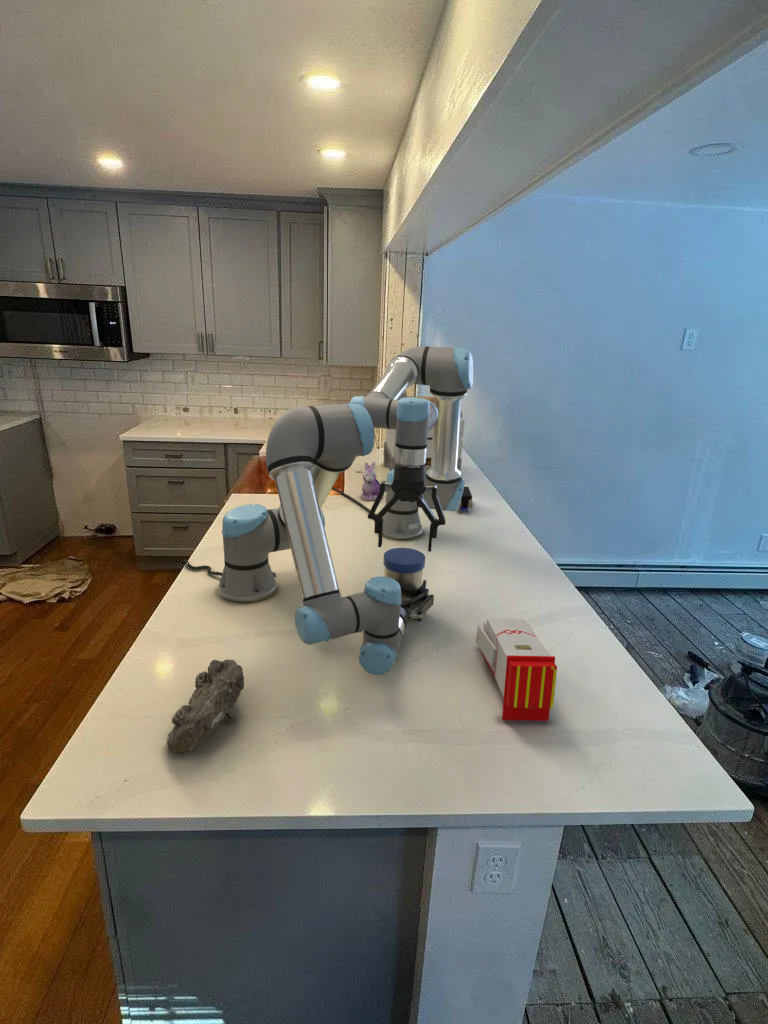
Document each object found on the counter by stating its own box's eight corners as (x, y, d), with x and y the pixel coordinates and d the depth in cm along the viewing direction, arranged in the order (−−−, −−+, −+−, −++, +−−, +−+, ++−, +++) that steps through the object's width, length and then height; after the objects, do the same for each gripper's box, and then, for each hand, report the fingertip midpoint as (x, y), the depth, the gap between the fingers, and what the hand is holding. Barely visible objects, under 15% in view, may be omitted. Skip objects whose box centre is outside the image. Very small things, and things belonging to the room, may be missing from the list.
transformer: (382, 463, 289) (386, 382, 275) (445, 464, 293) (451, 384, 279) (390, 482, 257) (394, 392, 243) (460, 483, 261) (468, 394, 247)
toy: (523, 604, 135) (566, 662, 106) (518, 656, 138) (559, 727, 109) (472, 603, 135) (501, 661, 105) (468, 655, 138) (496, 726, 108)
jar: (421, 621, 145) (425, 566, 139) (383, 620, 144) (386, 565, 139) (417, 602, 154) (421, 550, 149) (381, 601, 153) (384, 549, 148)
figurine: (366, 502, 230) (367, 466, 225) (355, 494, 239) (356, 460, 234) (386, 499, 235) (388, 464, 229) (375, 492, 243) (377, 458, 238)
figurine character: (472, 517, 222) (467, 501, 236) (475, 500, 219) (469, 484, 233) (455, 517, 222) (451, 500, 236) (457, 499, 219) (452, 484, 232)
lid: (427, 573, 140) (427, 565, 139) (384, 573, 139) (384, 564, 138) (422, 556, 150) (422, 547, 149) (382, 555, 149) (382, 547, 148)
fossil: (192, 660, 117) (244, 628, 112) (224, 691, 120) (276, 661, 115) (142, 746, 98) (202, 712, 93) (182, 779, 101) (242, 748, 96)
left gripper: (341, 631, 133) (363, 589, 154) (436, 646, 129) (446, 600, 150) (342, 603, 131) (364, 564, 151) (438, 617, 127) (448, 574, 148)
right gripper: (460, 463, 138) (452, 545, 145) (362, 456, 140) (359, 537, 147) (460, 471, 131) (452, 557, 138) (357, 463, 133) (355, 548, 140)
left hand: (405, 582), depth 151 cm, fingers closed on jar, 10 cm apart
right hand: (404, 547), depth 143 cm, fingers open, 12 cm apart
